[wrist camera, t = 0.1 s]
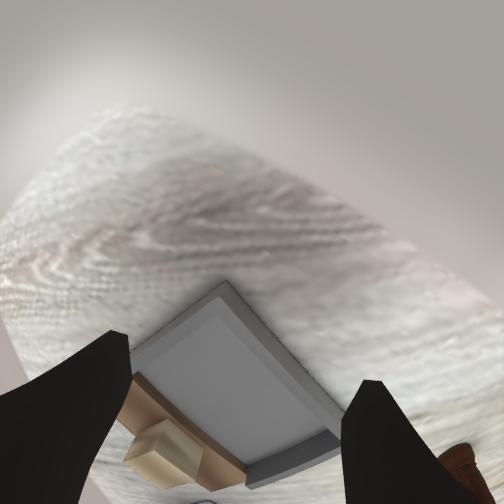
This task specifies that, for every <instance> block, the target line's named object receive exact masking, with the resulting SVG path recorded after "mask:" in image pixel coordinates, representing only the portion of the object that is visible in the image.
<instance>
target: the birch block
mask: <svg viewBox="0 0 504 504" xmlns="http://www.w3.org/2000/svg"><path fill="white" fill-rule="evenodd" d="M203 450H204V448H203V447H201V446H200V445H199V444H198V443H196V442H195V441H194V440H193V439H191V438H190V437H189V436H188V435H187V434H185V433H184V432H183V431H182V430H181V429H179V428H178V427H177V426H176V425H175V424H173V423H172V422H171V421H170V420H169V419H166V420H164V421H162V422H160V423H158V424H156V425H154V426H152V427H150V428H147V429H145V430H143V431H141V432H139V433H137V435H136V437H135V439H134V441H133V443H132V445H131V447H130V449H129V451H128V453H127V455H126V457H125V459H124V461H123V463H124V464H126V465H127V466H128V467H130V468H131V469H132V470H134V471H135V472H136V473H138V474H139V475H140V476H142V477H143V478H144V479H146V480H147V481H149V482H150V483H151V484H153V485H154V486H156V487H157V488H159V489H160V490H164V489H168V488H172V487H175V486H179V485H182V484H186V483H189V482H193V481H195V480H196V476H197V473H198V469H199V465H200V462H201V458H202V454H203Z"/></svg>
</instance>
